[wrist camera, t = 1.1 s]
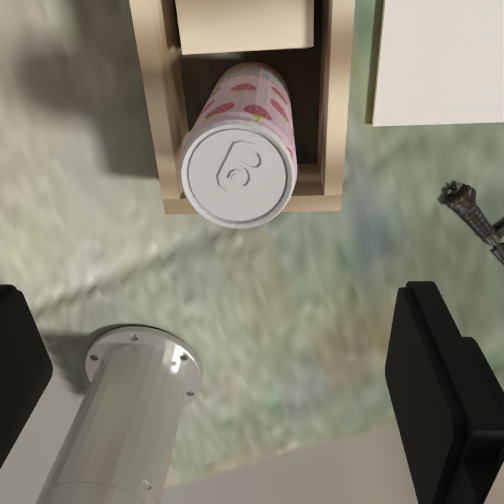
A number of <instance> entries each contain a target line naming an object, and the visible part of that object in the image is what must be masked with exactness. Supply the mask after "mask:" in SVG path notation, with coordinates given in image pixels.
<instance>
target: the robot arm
mask: <svg viewBox="0 0 504 504" xmlns="http://www.w3.org/2000/svg"><path fill="white" fill-rule="evenodd" d="M85 370H86V374H87V377H88V379H89V381H90V386H89V388H88V390H87V392H86V394H85V397H84V399H83V401H82V403H81V405H80V407H79V410H78V412H77V414H76V416H75V418H74V420H73V423H72V425H71V427H70V429H69V431H68V434H67V436H66V438H65V440H64V442H63V445H62V447H61V449H60V451H59V453H58V456H57V458H56V460H55V462H54V464H53V466H52V468H51V471H50V473H49V475H48V477H47V479H46V482H45V484H44V486H43V488H42V490H41V493H40V495H39V497H38V499H37V501H36V503H35V504H160V503H161V498H162V494H163V490H164V485H165V480H166V476H167V471H168V467H169V462H170V458H171V453H172V449H173V444H174V439H175V435H176V430H177V426H178V421H179V417H180V412H181V408H182V407H184V406H186V405H187V404H189V403H190V402H191V401H192V400H193V399H194V398H195V397H196V395H197V394H198V392H199V390H200V387H201V382H202V375H203V373H202V366H201V364H200V361H199V359H198V357H197V356H196V354H195V353H194V352H193V350H192V349H191V348H190V347H189V346H188V345H187V344H186V343H184V342H183V341H181V340H180V339H178V338H177V337H175V336H173V335H171V334H169V333H167V332H164V331H161V330H158V329H154V328H148V327H140V326H129V327H121V328H117V329H114V330H111V331H109V332H107V333H105V334H103V335H101V336H100V337H99V338H98V339H97V340H95V342H94V343H93V345H92V346H91V348H90V350H89V352H88V354H87V356H86V361H85ZM52 372H53V366H52V363H51V360H50V358H49V355H48V353H47V351H46V348H45V346H44V343H43V341H42V338H41V336H40V334H39V331H38V329H37V326H36V324H35V322H34V319H33V317H32V314H31V312H30V310H29V307H28V305H27V302H26V300H25V297H24V295H23V293H22V292H21V291H19V290H17V289H16V287H14V286H13V285H0V468H1V467H2V465H3V463H4V461H5V460H6V458H7V456H8V454H9V453H10V451H11V449H12V447H13V445H14V444H15V442H16V440H17V438H18V436H19V434H20V433H21V431H22V429H23V427H24V426H25V424H26V422H27V420H28V419H29V417H30V415H31V413H32V411H33V410H34V408H35V406H36V404H37V402H38V401H39V399H40V397H41V395H42V393H43V391H44V390H45V388H46V386H47V385H48V383H49V381H50V379H51V377H52ZM385 376H386V382H387V386H388V390H389V393H390V397H391V401H392V405H393V409H394V412H395V416H396V420H397V424H398V428H399V431H400V435H401V438H402V443H403V446H404V450H405V454H406V458H407V462H408V465H409V469H410V473H411V477H412V480H413V484H414V488H415V492H416V496H417V499H418V503H419V504H504V392H503V390H502V388H501V386H500V384H499V382H498V381H497V379H496V377H495V375H494V373H493V371H492V369H491V367H490V366H489V364H488V362H487V360H486V358H485V356H484V354H483V353H482V351H481V349H480V347H479V345H478V344H477V342H476V341H475V339H473V338H472V337H462V336H461V334H460V332H459V330H458V328H457V326H456V324H455V322H454V320H453V318H452V316H451V314H450V312H449V310H448V308H447V306H446V304H445V302H444V300H443V298H442V296H441V294H440V292H439V290H438V288H437V286H436V284H435V283H434V282H433V281H409V282H407V284H406V287H401V288H399V289H398V292H397V298H396V304H395V311H394V317H393V323H392V329H391V335H390V341H389V347H388V353H387V359H386V365H385Z"/></svg>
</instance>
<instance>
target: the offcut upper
mask: <svg viewBox="0 0 504 504" xmlns="http://www.w3.org/2000/svg"><path fill="white" fill-rule="evenodd" d="M175 2H176V10H177V17H178V25H179V33H180V40H181V48H182V55H186V54H203V53H219V52H236V51H253V50H269V49H286V48H302V47H313V38H314V0H175Z"/></svg>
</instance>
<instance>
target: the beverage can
mask: <svg viewBox="0 0 504 504" xmlns="http://www.w3.org/2000/svg"><path fill="white" fill-rule="evenodd" d="M179 164H180V167H179V174H180V183H181V187H182V190H183V193H184V195H185V197H186V199H187V201H188V202H189V203H190V205H191V206H192V207H193V208H194V210H195V211H197V212H198V213H199V214H200V215H201V216H202V217H204V218H205V219H207V220H209V221H211V222H212V223H214V224H217V225H220V226H223V227H228V228H234V229H242V228H251V227H255V226H259V225H261V224H263V223H266V222H268V221H269V220H271V219H272V218H274V217H275V216H277V215H278V214H279V213H280V212H281V211H282V209H283V208H284V207H285V206H286V204H287V203H288V201H289V199H290V198H291V195H292V192H293V189H294V186H295V183H296V179H297V160H296V151H295V141H294V132H293V122H292V112H291V103H290V94H289V90H288V87H287V84H286V83H285V81H284V79H283V78H282V76H281V75H280V74H279V73H278V72H277V71H276V70H274V69H273V68H272V67H270V66H268V65H266V64H263V63H260V62H254V61H252V62H243V63H239V64H236V65H235V66H233V67H231V68H229V69H228V70H227V71H226V72H225V73H224V74H223V75H222V76H221V78H220V79H219V81H218V82H217V84H216V86H215V88H214V90H213V91H212V93H211V95H210V97H209V99H208V101H207V103H206V104H205V106H204V108H203V110H202V112H201V114H200V115H199V117H198V119H197V121H196V123H195V125H194V126H193V128H192V130H191V132H190V134H189V136H188V137H187V139H186V141H185V144H184V146H183V149H182V151H181V156H180V162H179Z"/></svg>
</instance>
